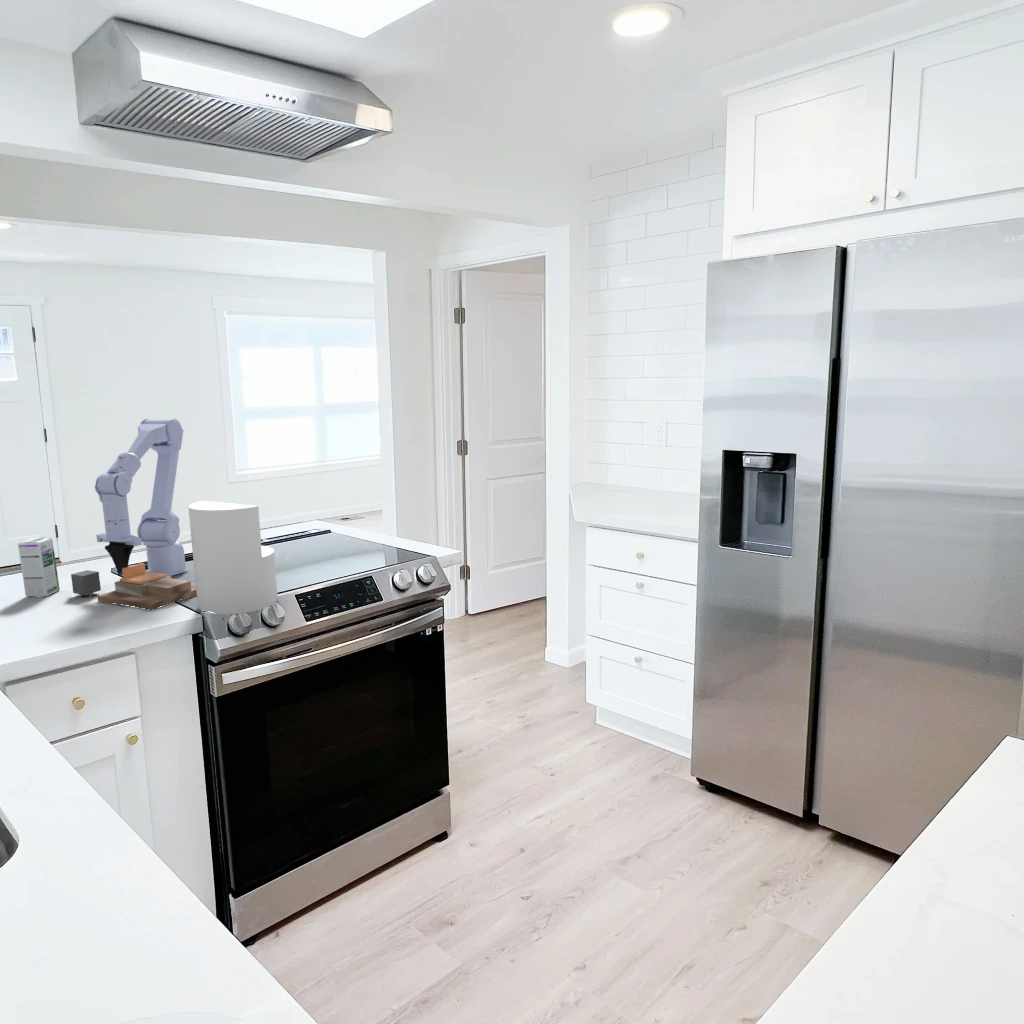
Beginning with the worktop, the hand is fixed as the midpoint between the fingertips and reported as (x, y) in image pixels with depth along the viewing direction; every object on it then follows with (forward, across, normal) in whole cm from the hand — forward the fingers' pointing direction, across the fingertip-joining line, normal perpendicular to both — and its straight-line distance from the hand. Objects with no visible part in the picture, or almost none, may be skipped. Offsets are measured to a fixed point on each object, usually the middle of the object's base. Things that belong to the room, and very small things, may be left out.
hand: (122, 570), depth 204 cm
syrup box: (+6, -18, -10) cm, 22 cm away
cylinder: (+6, +36, +4) cm, 36 cm away
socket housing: (+6, +11, 0) cm, 12 cm away
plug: (+6, -8, -6) cm, 11 cm away
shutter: (+1, +8, 0) cm, 8 cm away
